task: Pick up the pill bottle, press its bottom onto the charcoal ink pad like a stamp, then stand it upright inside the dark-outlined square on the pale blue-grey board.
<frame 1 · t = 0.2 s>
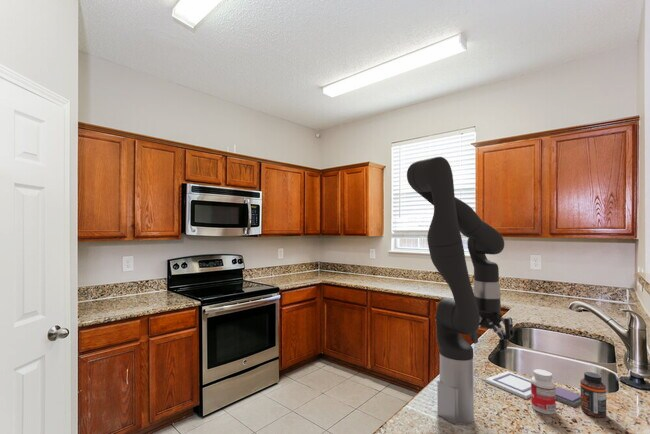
hand: (488, 346, 102), 17 cm above the countertop, tool pointing down, fingers open, 8 cm apart
pill bottle: (543, 410, 98), on the countertop
ink pad: (565, 398, 105), on the countertop
supplement bottle: (593, 413, 97), on the countertop
target board: (516, 385, 114), on the countertop
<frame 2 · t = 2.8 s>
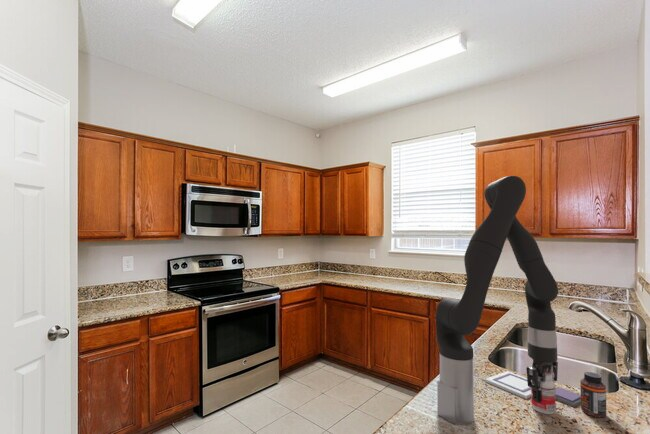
hand: (543, 398, 98), 3 cm above the countertop, tool pointing down, fingers closed on pill bottle, 6 cm apart
pill bottle: (543, 410, 98), on the countertop, touching gripper
everything else where it was.
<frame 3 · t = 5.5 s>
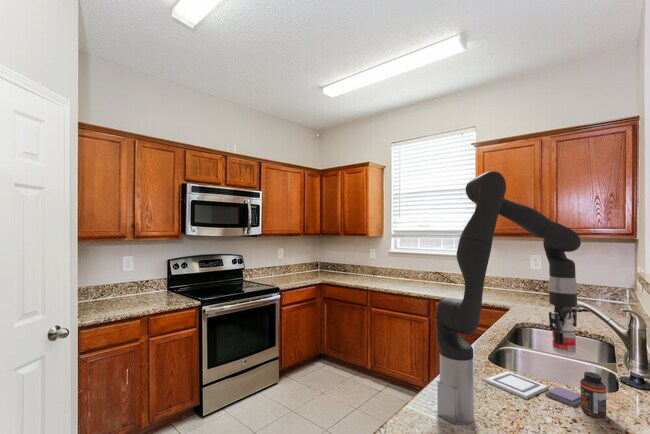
hand: (563, 341, 106), 18 cm above the countertop, tool pointing down, fingers closed on pill bottle, 6 cm apart
pill bottle: (564, 352, 106), point 15 cm above the countertop, touching gripper
everything else where it was.
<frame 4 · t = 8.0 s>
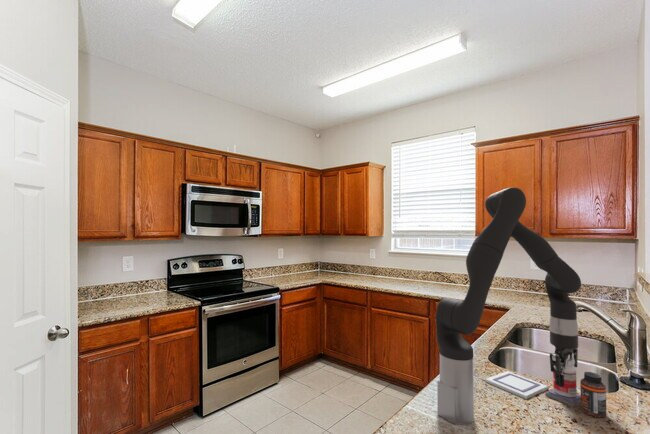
hand: (564, 383, 106), 5 cm above the countertop, tool pointing down, fingers closed on pill bottle, 6 cm apart
pill bottle: (564, 394, 106), point 1 cm above the countertop, touching gripper, ink pad
everything else where it was.
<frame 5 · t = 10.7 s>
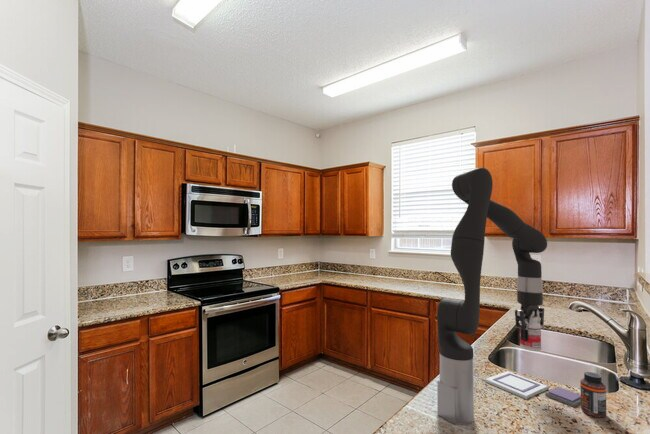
hand: (530, 339, 112), 17 cm above the countertop, tool pointing down, fingers closed on pill bottle, 6 cm apart
pill bottle: (530, 349, 111), point 14 cm above the countertop, touching gripper
everything else where it was.
when the fingers open (6 cm above the countertop, at t = 13.1 s): pill bottle drops 1 cm, resting on target board.
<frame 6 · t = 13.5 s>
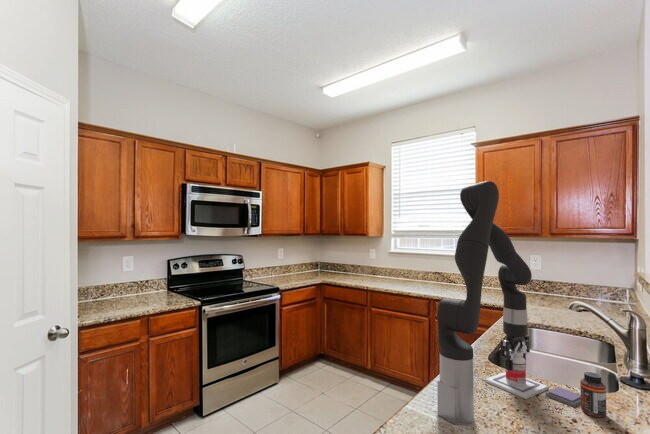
hand: (515, 367, 114), 6 cm above the countertop, tool pointing down, fingers open, 8 cm apart
pill bottle: (515, 383, 114), point 1 cm above the countertop, touching target board
everything else where it was.
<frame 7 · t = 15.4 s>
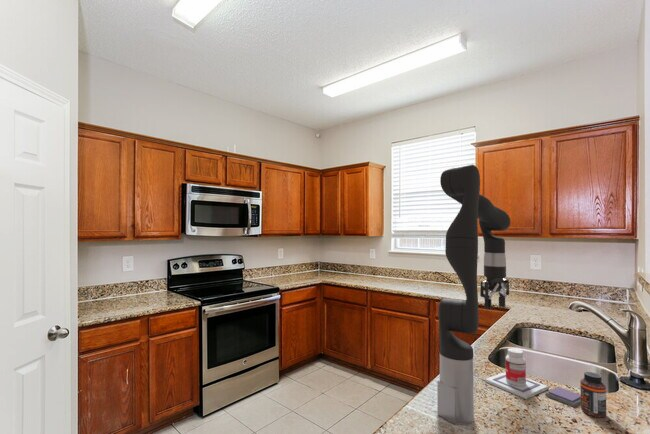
hand: (495, 307, 123), 25 cm above the countertop, tool pointing down, fingers open, 8 cm apart
nothing on the countertop moved.
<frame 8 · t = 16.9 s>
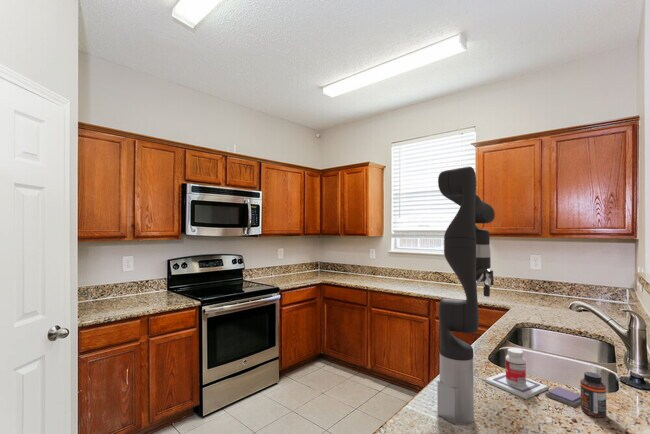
hand: (480, 297, 128), 28 cm above the countertop, tool pointing down, fingers open, 8 cm apart
nothing on the countertop moved.
at the end: pill bottle 0.2 cm off-centre on the target board, point 0.8 cm above the target board's base; pill bottle tilted 0°; the gripper is holding nothing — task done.
